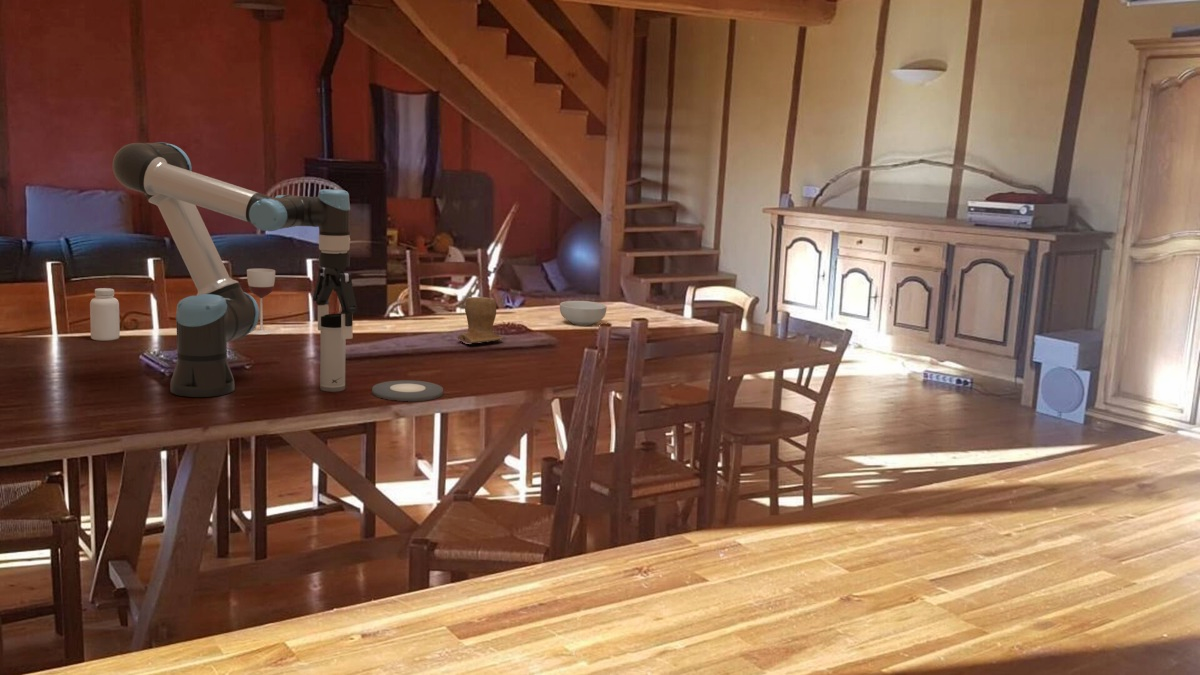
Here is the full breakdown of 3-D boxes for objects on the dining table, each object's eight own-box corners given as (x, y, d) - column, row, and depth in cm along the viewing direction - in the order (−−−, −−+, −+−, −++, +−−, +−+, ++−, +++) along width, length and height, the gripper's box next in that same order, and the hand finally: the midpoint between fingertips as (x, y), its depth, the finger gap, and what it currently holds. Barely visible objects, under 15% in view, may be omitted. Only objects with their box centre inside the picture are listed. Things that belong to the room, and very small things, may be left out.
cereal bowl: (554, 325, 390) (555, 305, 388) (564, 318, 406) (564, 299, 405) (601, 329, 387) (602, 309, 386) (608, 321, 403) (610, 302, 402)
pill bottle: (125, 338, 328) (124, 289, 326) (101, 342, 322) (99, 292, 319) (109, 335, 333) (108, 286, 330) (85, 338, 326) (83, 288, 323)
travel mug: (339, 393, 278) (340, 315, 274) (315, 390, 279) (316, 313, 275) (350, 387, 284) (351, 312, 280) (326, 385, 285) (327, 310, 281)
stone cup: (484, 337, 361) (485, 292, 359) (507, 343, 353) (509, 297, 351) (447, 341, 351) (449, 295, 348) (471, 348, 343) (472, 300, 340)
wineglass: (271, 335, 345) (270, 272, 342) (243, 333, 345) (243, 271, 342) (278, 330, 353) (278, 269, 349) (251, 329, 353) (251, 267, 350)
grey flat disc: (393, 404, 269) (393, 399, 269) (359, 389, 283) (359, 383, 283) (456, 396, 281) (456, 391, 280) (420, 382, 294) (420, 377, 294)
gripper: (371, 256, 268) (371, 341, 272) (326, 245, 287) (327, 325, 290) (343, 257, 263) (343, 343, 267) (299, 246, 282) (300, 327, 286)
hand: (334, 334), depth 279 cm, fingers open, 13 cm apart
